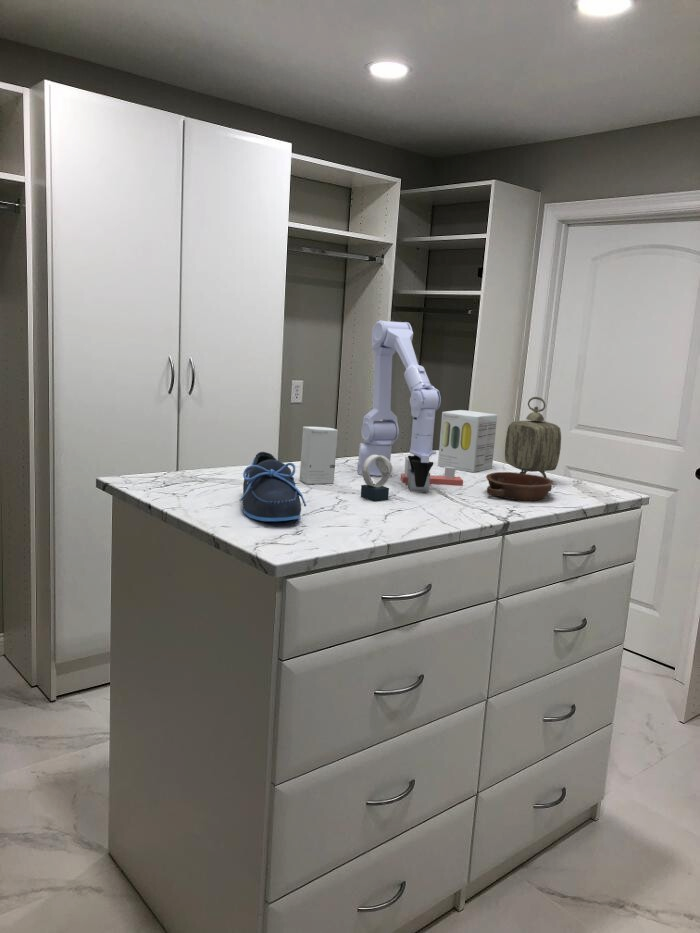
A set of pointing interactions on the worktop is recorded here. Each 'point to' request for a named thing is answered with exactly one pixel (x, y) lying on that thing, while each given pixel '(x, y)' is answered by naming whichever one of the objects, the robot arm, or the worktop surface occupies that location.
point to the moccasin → (270, 490)
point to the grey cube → (413, 485)
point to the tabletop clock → (533, 443)
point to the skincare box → (318, 455)
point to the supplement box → (467, 440)
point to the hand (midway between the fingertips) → (418, 484)
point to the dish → (518, 486)
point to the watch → (378, 490)
